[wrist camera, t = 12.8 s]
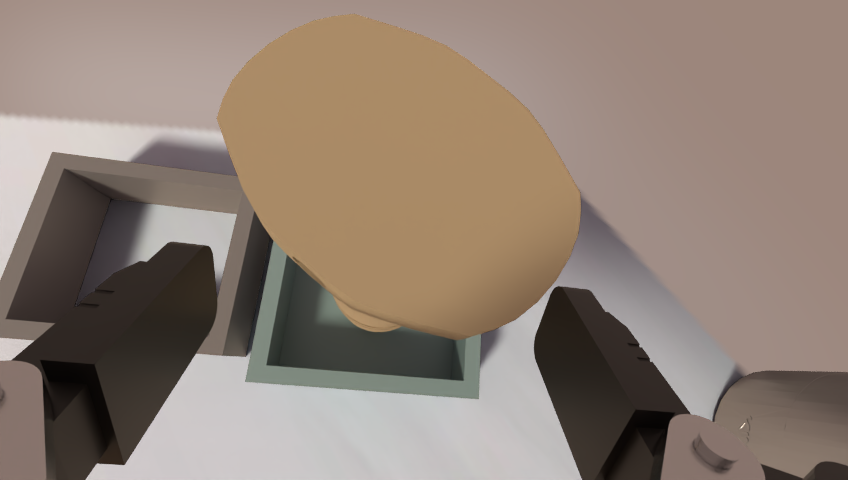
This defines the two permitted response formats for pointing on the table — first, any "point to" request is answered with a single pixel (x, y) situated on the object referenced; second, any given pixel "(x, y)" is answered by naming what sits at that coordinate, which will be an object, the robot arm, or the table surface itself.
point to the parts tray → (349, 345)
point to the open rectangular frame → (79, 228)
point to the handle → (400, 177)
